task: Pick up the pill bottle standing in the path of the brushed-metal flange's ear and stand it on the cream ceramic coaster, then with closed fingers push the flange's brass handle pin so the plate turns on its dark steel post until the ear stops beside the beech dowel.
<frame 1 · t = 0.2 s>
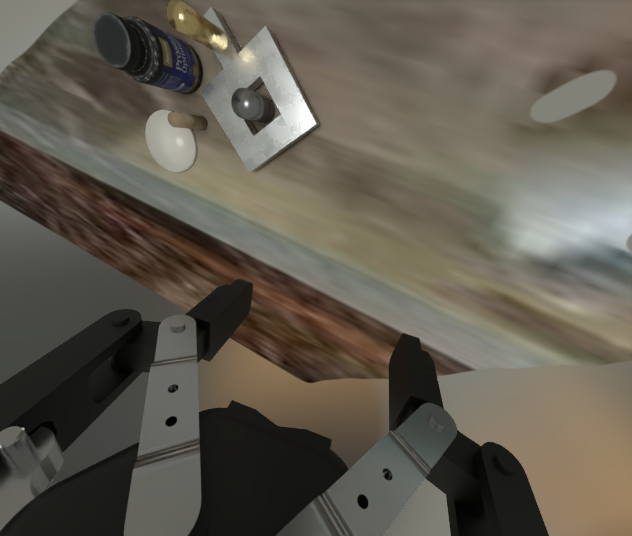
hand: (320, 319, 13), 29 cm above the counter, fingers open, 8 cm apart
dowel: (202, 123, 39), on the counter
post: (264, 109, 36), on the counter
flange: (234, 82, 31), point 5 cm above the counter, hinge at 0.0°
pill bottle: (185, 69, 37), on the counter
coaster: (172, 142, 42), on the counter
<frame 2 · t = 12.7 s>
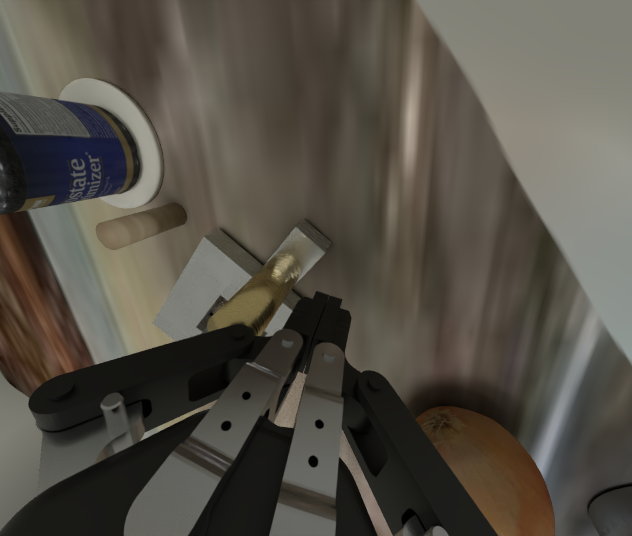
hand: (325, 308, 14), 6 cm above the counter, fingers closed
dowel: (176, 214, 21), on the counter
flange: (228, 333, 19), point 5 cm above the counter, hinge at 0.2°, touching gripper
pill bottle: (111, 151, 20), resting on coaster
coaster: (113, 149, 20), on the counter
onion: (450, 417, 24), on the counter
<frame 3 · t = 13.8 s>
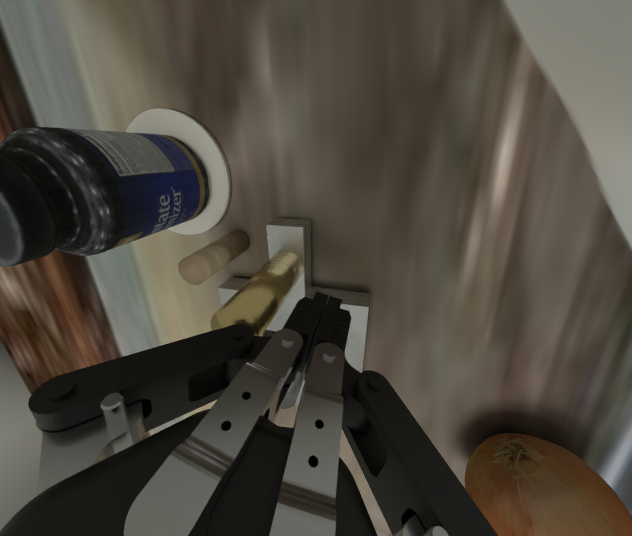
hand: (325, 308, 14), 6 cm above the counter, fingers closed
dowel: (239, 240, 21), on the counter
post: (299, 339, 24), on the counter
flange: (278, 354, 18), point 5 cm above the counter, hinge at 39.7°, touching gripper
pill bottle: (178, 179, 20), resting on coaster
coaster: (179, 177, 20), on the counter
onion: (511, 442, 23), on the counter
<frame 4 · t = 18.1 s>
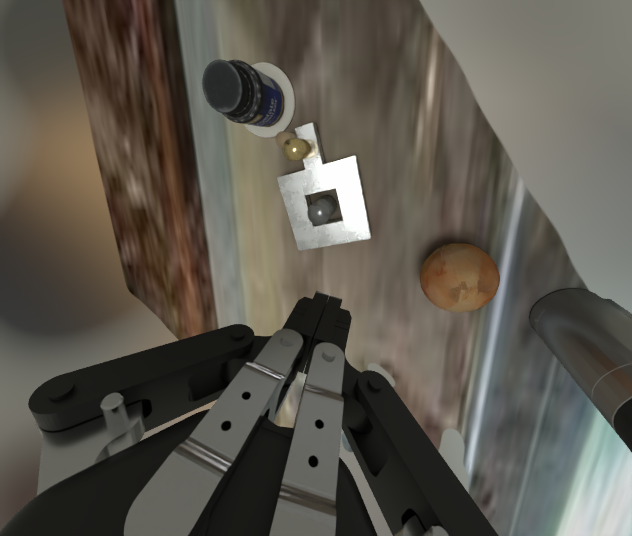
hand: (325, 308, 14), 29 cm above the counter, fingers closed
dowel: (296, 140, 38), on the counter
post: (327, 205, 41), on the counter
flange: (315, 193, 36), point 5 cm above the counter, hinge at 55.0°, touching dowel
pill bottle: (266, 103, 37), resting on coaster
coaster: (265, 102, 37), on the counter
onion: (449, 263, 41), on the counter
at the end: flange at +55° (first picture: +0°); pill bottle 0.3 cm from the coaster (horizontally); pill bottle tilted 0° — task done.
